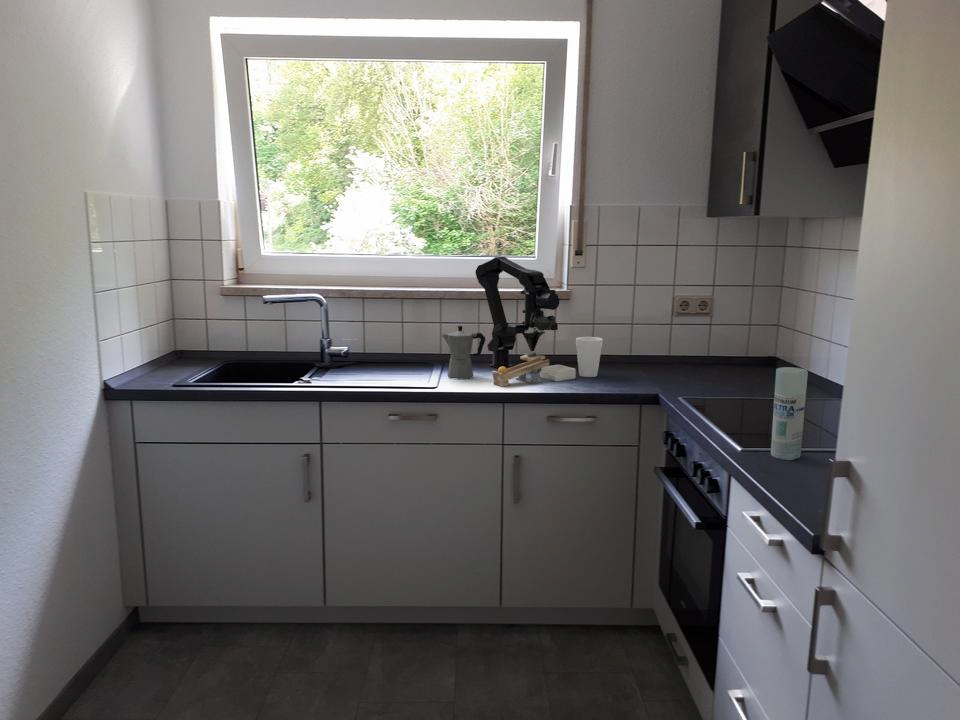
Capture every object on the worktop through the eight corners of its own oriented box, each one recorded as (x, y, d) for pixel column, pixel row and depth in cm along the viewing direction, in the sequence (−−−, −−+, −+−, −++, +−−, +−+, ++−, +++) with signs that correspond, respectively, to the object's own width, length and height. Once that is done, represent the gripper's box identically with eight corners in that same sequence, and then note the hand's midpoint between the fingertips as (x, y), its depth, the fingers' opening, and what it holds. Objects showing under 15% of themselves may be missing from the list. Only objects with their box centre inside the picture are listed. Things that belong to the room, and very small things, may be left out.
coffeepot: (439, 378, 250) (438, 327, 247) (444, 373, 260) (444, 323, 256) (483, 380, 248) (483, 327, 245) (487, 374, 257) (487, 324, 254)
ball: (497, 376, 241) (494, 368, 240) (504, 372, 242) (501, 363, 241) (503, 378, 238) (499, 370, 237) (510, 373, 240) (507, 365, 238)
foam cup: (593, 378, 250) (594, 341, 248) (570, 375, 256) (570, 339, 253) (606, 374, 258) (607, 338, 255) (583, 371, 263) (584, 336, 261)
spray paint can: (764, 454, 166) (770, 369, 162) (780, 449, 170) (787, 366, 166) (790, 462, 161) (797, 373, 157) (806, 457, 164) (813, 370, 161)
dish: (539, 376, 253) (539, 367, 253) (558, 374, 258) (558, 364, 257) (555, 381, 246) (556, 371, 245) (575, 378, 250) (575, 368, 250)
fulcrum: (515, 379, 249) (515, 370, 248) (525, 378, 251) (525, 369, 251) (531, 384, 241) (531, 374, 241) (542, 382, 244) (542, 373, 243)
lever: (476, 378, 250) (474, 366, 249) (532, 359, 262) (530, 347, 261) (505, 387, 236) (503, 374, 235) (562, 366, 248) (560, 354, 247)
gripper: (525, 311, 243) (524, 357, 246) (568, 308, 253) (567, 352, 256) (506, 308, 253) (505, 352, 255) (548, 305, 263) (547, 347, 265)
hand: (532, 351), depth 258 cm, fingers closed
